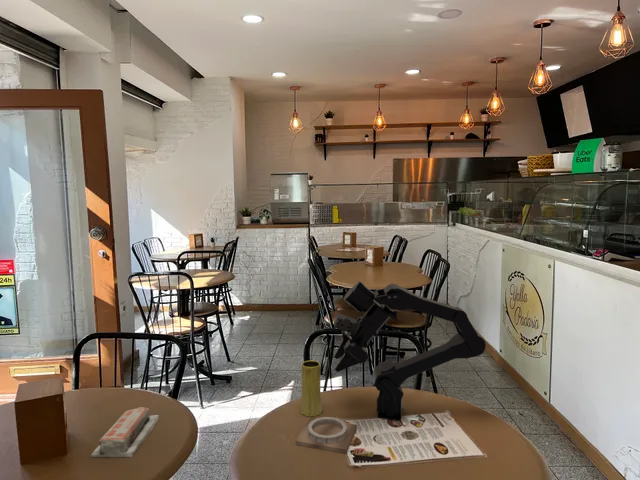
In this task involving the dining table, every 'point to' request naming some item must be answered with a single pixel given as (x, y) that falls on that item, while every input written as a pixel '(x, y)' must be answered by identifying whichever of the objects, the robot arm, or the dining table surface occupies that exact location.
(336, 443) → the socket board
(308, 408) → the vase
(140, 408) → the packaged product
